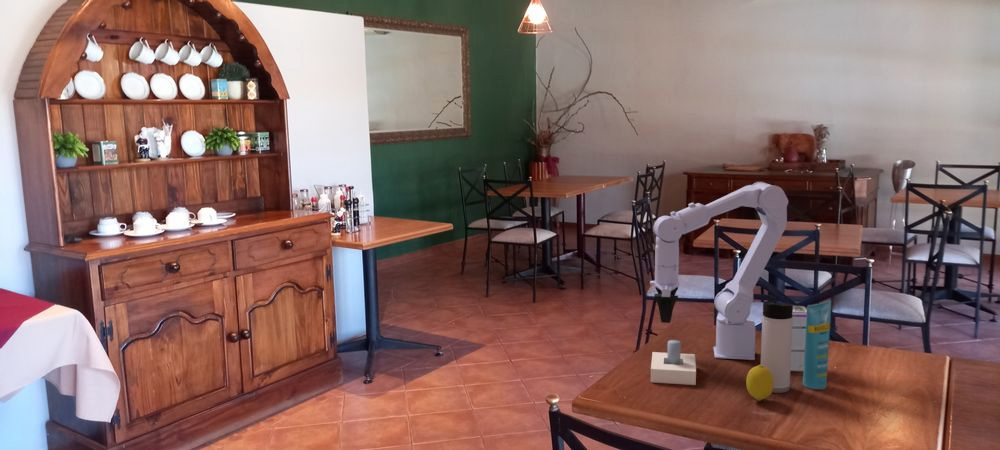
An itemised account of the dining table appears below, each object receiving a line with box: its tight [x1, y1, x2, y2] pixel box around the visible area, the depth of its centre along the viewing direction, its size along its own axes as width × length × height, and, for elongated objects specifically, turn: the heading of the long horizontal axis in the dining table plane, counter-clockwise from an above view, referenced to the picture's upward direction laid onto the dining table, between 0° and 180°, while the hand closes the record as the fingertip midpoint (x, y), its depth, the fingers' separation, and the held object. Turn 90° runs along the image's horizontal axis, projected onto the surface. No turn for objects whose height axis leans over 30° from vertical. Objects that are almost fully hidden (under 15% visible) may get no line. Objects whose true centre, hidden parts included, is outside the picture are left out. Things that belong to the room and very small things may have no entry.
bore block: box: [650, 351, 697, 386], centre depth 179 cm, size 10×12×3 cm
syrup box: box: [790, 305, 807, 372], centre depth 182 cm, size 6×6×14 cm
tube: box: [802, 300, 832, 390], centre depth 169 cm, size 7×5×19 cm, turn 123°
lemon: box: [745, 364, 774, 402], centre depth 163 cm, size 6×6×8 cm
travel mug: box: [760, 301, 794, 394], centre depth 168 cm, size 6×7×20 cm
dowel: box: [666, 339, 682, 365], centre depth 179 cm, size 3×3×7 cm
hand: (666, 318), depth 191 cm, fingers open, 7 cm apart
